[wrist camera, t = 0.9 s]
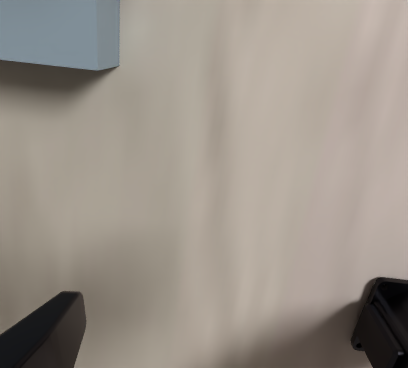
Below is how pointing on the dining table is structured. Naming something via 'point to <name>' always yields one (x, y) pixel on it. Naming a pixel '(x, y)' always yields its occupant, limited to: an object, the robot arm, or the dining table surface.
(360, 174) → the dining table surface
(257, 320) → the dining table surface
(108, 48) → the slate base block
